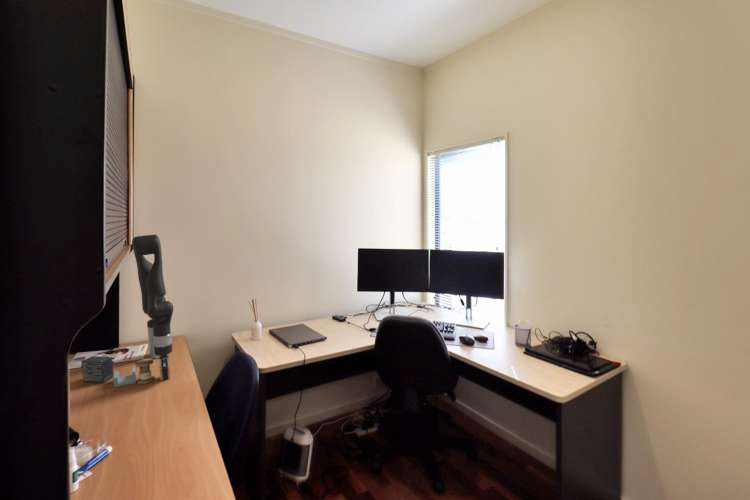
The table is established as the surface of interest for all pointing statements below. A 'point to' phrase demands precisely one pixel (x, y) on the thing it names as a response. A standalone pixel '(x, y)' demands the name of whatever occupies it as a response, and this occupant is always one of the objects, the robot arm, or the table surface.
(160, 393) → the table surface
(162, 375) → the tan rectangular block
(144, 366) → the bobbin
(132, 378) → the grey channel bracket
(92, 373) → the small box
